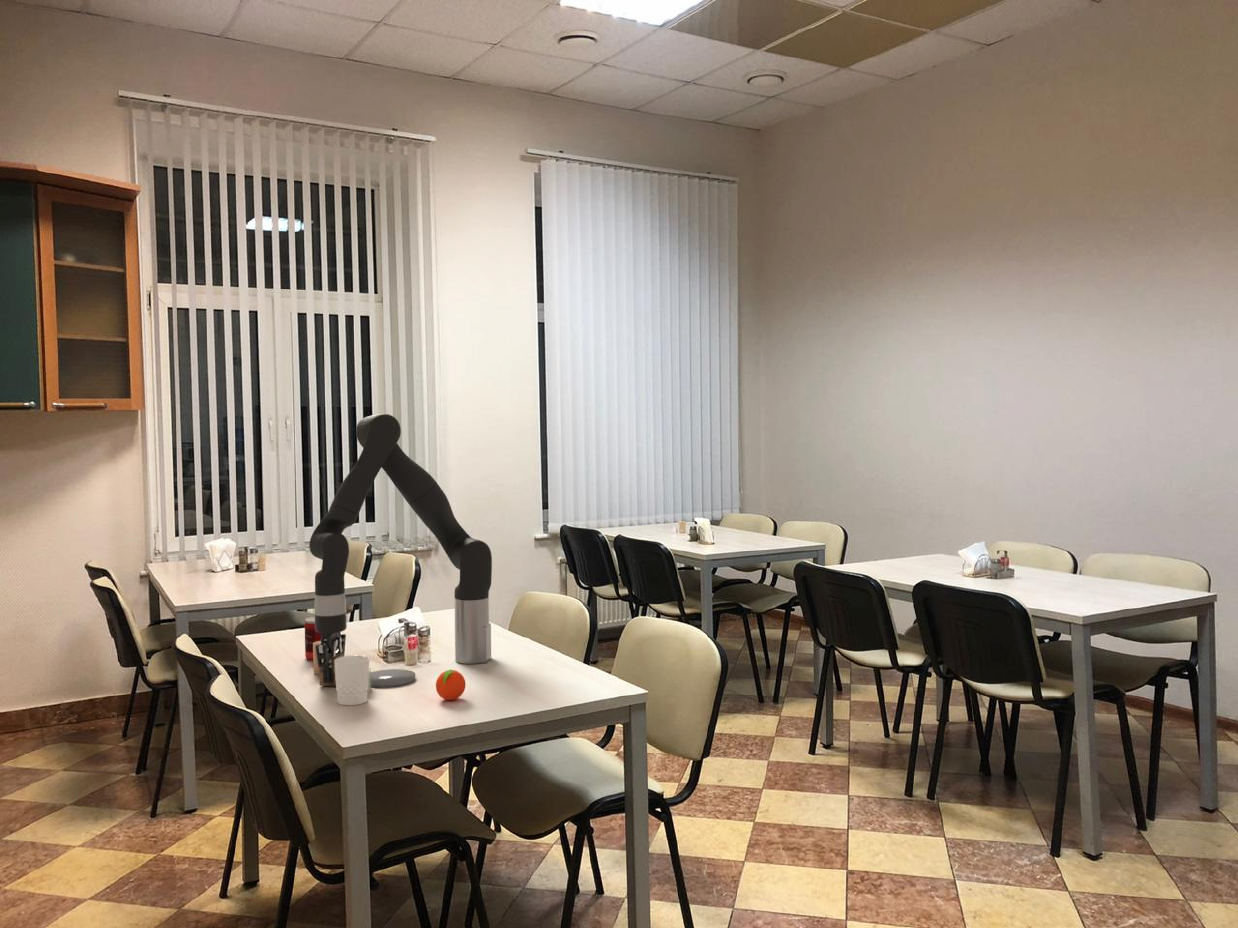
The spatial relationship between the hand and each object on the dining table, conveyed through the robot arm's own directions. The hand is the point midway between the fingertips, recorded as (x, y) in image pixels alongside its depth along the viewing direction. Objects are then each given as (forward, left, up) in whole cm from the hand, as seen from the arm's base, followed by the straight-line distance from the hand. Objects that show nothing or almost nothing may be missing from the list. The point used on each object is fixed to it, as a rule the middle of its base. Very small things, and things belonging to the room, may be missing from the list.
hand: (332, 679), depth 241 cm
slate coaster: (-13, -5, -1) cm, 14 cm away
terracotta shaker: (+7, -11, -1) cm, 13 cm away
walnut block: (0, 0, -1) cm, 1 cm away
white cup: (-10, +14, -2) cm, 17 cm away
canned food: (+14, -27, -2) cm, 30 cm away
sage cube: (-9, +5, -1) cm, 10 cm away
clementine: (-33, +11, -2) cm, 35 cm away
